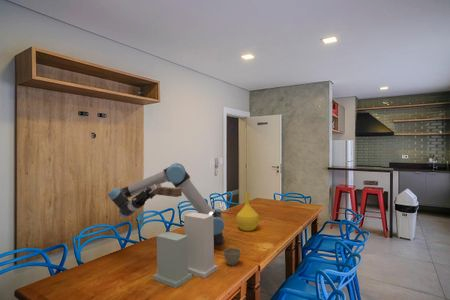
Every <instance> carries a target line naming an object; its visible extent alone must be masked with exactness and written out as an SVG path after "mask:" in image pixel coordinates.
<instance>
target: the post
mask: <svg viewBox="0 0 450 300" xmlns="http://www.w3.org/2000/svg"><path fill="white" fill-rule="evenodd" d="M156 263H157V264H156V266H157V267H156V273H155V274H153V275H152V280H154V281H156V282H159V283H162V284H163V285H166V286H170V287H172V288H175V289H177V288H179V287H181V286H182V285H184V284H185V283H186V282H188V281H189V280H191V279H193V274H191V273H188V236H186V235H184V234H181V233H176V232H171V231H166V232H162V233H161V234H157V235H156Z"/></svg>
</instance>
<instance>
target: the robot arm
mask: <svg viewBox="0 0 450 300" xmlns="http://www.w3.org/2000/svg"><path fill="white" fill-rule="evenodd" d="M166 182H167V183H171V184H172V186H174V188H181V189H182V194H183V195H184V197H185V198H186V199H187V201H188V202H189V203H190V204H191V206H192V207H193V208H194V209H195V211H196V213H202V214H208V215H213V229H214V246H219V245H221V244H223V243H224V242H225V237H224V235H223V231H224V229H225V221H224V220H223V217H222V210H221V209H220V208H211V206H210V204H209V203H208V202H207V200H206V199H205V198H204V197H203V196H202V194H201V193H200V191H199V190H198V189H197V188H196V186H195V185H194V184H193V182H192V181H191V176H190V175H189V174H188V172H187V170H186V169H185V166H184V165H182V164H181V163H179V162H178V163H176V162H175V163H173V164H171V165H170V166H168V167H166V168H164V169H163V170H162V171H160V172H157V173H156V174H154V175H151V176H148V177H147V178H144V179H142V180H139V181H137V182H135V183H132V184H129V185H128V186H125V187H121V188H119V187H115V188H113V189H112V190H111V191H110V192H108V194H107V196H108V198H110V200H111V201H112V202H113V204H115V205H116V207H117V208H118V213H119V214H118V215H119V216H120V217H121V218H128V217H130V216H132V215H133V214H134V213H135V212H138V211H139V210H140V209H141V208H142V207H143V206H144V205H145V204H146V202H147V201H148V200H149V199H151V200H152V199H153V198H154V197H155V196H156V195H155V194H150V193H152V192H153V191H154V190H155V189H157V188H156V186H158V187H164V186H163V185H162V184H164V183H166ZM149 186H151V187H150V188H149V189H148V190H147V187H149ZM129 198H131V199H130V200H129Z"/></svg>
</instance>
